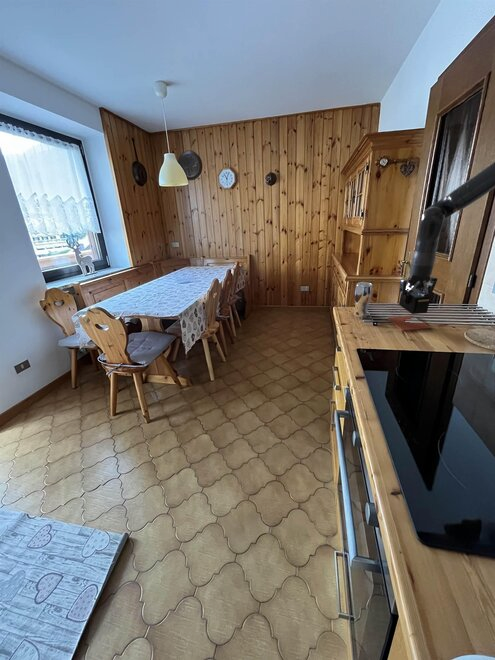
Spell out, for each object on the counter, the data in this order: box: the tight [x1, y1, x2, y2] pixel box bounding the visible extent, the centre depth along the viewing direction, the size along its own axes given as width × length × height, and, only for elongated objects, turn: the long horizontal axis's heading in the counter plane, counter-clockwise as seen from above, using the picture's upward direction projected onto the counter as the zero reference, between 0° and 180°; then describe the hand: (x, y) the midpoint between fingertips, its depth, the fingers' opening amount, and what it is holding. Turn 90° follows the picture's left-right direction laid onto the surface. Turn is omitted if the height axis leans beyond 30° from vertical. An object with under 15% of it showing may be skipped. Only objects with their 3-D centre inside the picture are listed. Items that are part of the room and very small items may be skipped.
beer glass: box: [353, 281, 373, 319], centre depth 127 cm, size 7×7×15 cm
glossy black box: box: [398, 288, 432, 315], centre depth 116 cm, size 11×6×7 cm, turn 3°
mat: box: [387, 315, 432, 332], centre depth 121 cm, size 12×12×1 cm
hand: (413, 302), depth 116 cm, fingers closed on glossy black box, 6 cm apart
